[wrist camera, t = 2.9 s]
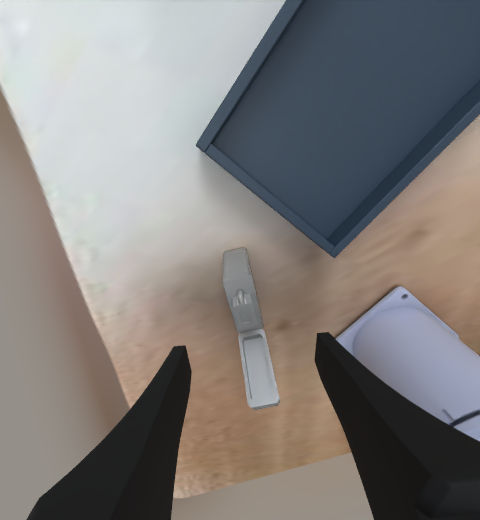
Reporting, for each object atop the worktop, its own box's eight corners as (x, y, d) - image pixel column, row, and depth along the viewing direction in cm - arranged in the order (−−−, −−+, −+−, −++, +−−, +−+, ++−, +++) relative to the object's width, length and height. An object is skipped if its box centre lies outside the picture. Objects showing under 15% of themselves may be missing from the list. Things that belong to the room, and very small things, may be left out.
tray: (557, 5, 12) (616, -21, 10) (323, 247, 17) (334, 258, 15) (448, -247, 9) (505, -351, 7) (199, 146, 14) (195, 145, 12)
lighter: (223, 252, 17) (219, 324, 10) (245, 246, 17) (259, 316, 10) (243, 324, 20) (252, 421, 13) (262, 320, 20) (283, 415, 13)
